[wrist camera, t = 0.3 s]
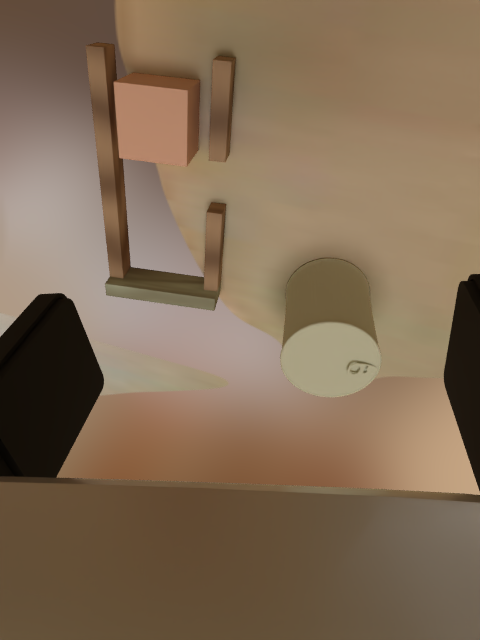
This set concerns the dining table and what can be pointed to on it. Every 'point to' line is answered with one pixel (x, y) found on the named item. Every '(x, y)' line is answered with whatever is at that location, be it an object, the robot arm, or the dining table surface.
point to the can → (329, 330)
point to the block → (157, 118)
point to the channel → (111, 175)
